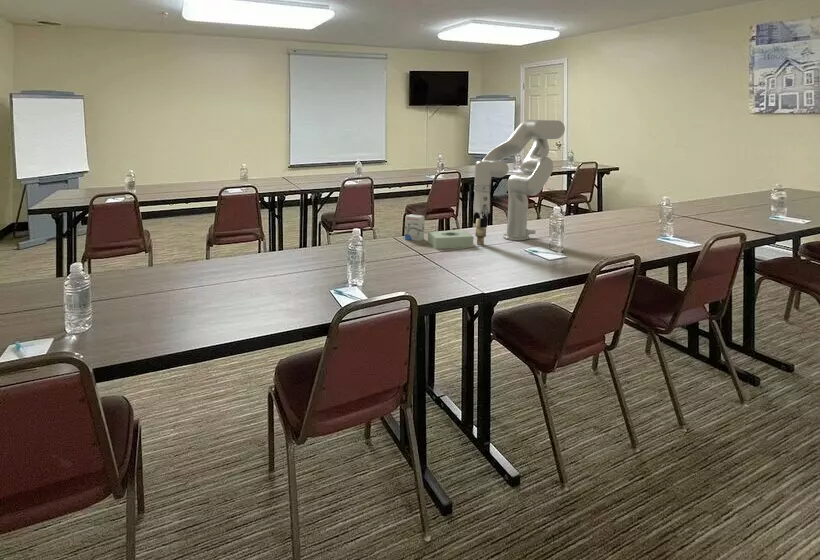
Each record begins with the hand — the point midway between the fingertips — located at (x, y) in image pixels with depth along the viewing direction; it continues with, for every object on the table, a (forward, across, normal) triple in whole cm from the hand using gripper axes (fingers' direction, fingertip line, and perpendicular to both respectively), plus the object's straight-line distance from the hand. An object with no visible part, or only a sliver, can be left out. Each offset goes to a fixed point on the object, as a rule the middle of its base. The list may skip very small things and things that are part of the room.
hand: (479, 225), depth 255 cm
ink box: (+10, +17, +27) cm, 34 cm away
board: (+10, +3, +13) cm, 17 cm away
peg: (+9, 0, -1) cm, 9 cm away
